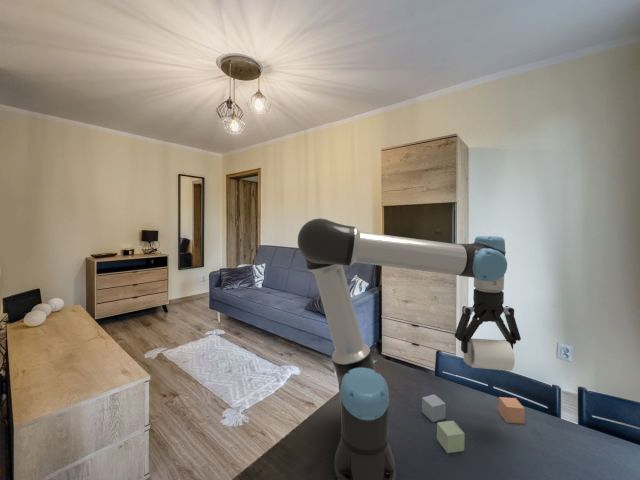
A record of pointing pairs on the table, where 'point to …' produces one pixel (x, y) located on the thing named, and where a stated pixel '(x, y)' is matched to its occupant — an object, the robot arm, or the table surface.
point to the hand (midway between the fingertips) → (486, 363)
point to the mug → (491, 354)
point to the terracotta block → (511, 410)
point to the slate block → (433, 408)
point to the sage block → (450, 436)
